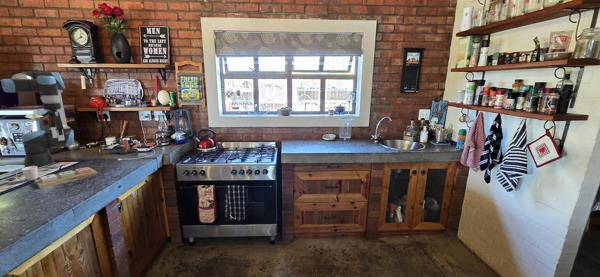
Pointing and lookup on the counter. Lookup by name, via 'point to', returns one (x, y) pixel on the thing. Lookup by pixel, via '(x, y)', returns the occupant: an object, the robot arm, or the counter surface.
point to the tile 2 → (66, 174)
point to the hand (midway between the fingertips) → (58, 138)
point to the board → (65, 179)
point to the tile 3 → (83, 170)
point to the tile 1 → (48, 178)
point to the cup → (29, 173)
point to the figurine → (126, 148)
